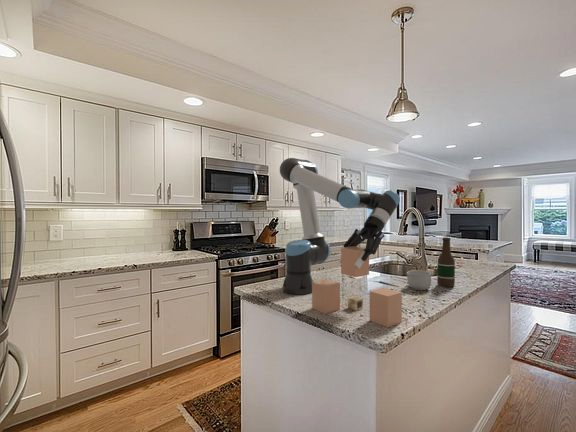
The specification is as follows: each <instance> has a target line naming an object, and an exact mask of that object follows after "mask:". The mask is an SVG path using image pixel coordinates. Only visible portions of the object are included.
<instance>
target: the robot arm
mask: <svg viewBox="0 0 576 432" xmlns="http://www.w3.org/2000/svg"><path fill="white" fill-rule="evenodd" d="M318 173H319V171H318V168H317V165H316V164H315V163H314V162H312V161H309V160H308V159H300V158H295V157H288V158H286V159H284V160H283V161H282V162H281V163H280V166H279V174H280V176H281V178H283V180H285V181H287V182H289V183H291V184H292V185H293V186H292V187H293V189H295V190H296V194H297V200H298V206H299V213H300V218H301V226H302V232H303V237H302V238H301V239H298V240H297V239H296V240H292V241H289V242H288V243H287V244H286V245H285V270H286V271H285V277H284V281H283V284H282V292H284V293H285V294H289V295H309V294H312V282H314V280H313V277H312V274H311V270H312V269H311V267H312V266H315V265H321V264H323V263H325V262H326V261H327V260H329V257H330V256H331V250H332V249H331V246H330V244H329V243H328V241H327V240H325V235H323V234H322V232H321V229H320V223H319V214H318V209H317V204H316V202H317V201H316V196H315V193H317V194H320V195H322V196H324V197H326V198H329V199H330V200H332V201H335V202H337V203H338V204H339V205H340V206H341V207H343V208H346V209H363V208H364V209H368V210H371V212H370V214H369V215H368V217H367V218H366V220H365V222H364V225H363V227H362V228H361V229H358V228H355V230H354V232H353V233H352V235H350V237H349V238H348V239H347V240H346V242H344V244H343V246H342V247H351V246H357V247H358V246H359V245H360V244H361V243H362V242H364V241H366V243H365V247H364V248H365V249H364V250H365V251H362V253H361V255H360V256H359V258H358V259H357V261H356V262H355V265H356V267H357V268H358V269H360V267H361V266H362V264H363V262H364V261H366V259H367V258H368V256H369V257H370V255H374V256H375V255H376V253H377V250H378V248H379V246H380V244H381V241H382V239H383V238H384V237H385V234H384V233H383V230H384V228H385V226H386V224H387V223H388V221H389V220H390V219H391V216H392V215H393V214H394V211H395V210H396V209H397V208H398V206H399V203H400V201H401V197H400V195H399V194H398V193H397V192H396V191H393V190H391V189H390V190H386V191H384V192H383V193H382V194H381V193H378V192H377V193H376V192H373V191H369V190H366V189H362V188H356V189H354V188H350V187H348V186H347V185H344V184H343V183H340V182H336V181H335V180H333V179H330V178H328V177H325V176H323V175H320V174H318ZM338 262H339V263H340V264H341V257H340V258H339V259H338Z"/></svg>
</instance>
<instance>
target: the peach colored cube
mask: <svg viewBox="0 0 576 432" xmlns="http://www.w3.org/2000/svg"><path fill="white" fill-rule="evenodd" d="M311 309H314V310H315V311H317V312H321V313H323V314H329V313H332V312H336V311H340V309H341V283H340V282H337V281H333V280H330V279H322V280H317V281H313V282H312V293H311Z"/></svg>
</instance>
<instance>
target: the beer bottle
mask: <svg viewBox="0 0 576 432" xmlns="http://www.w3.org/2000/svg"><path fill="white" fill-rule="evenodd" d="M441 241H442V246H441V254H439V256H438V258H437V266H436V267H437V270H436V271H437V272H436V273H437V274H436V275H437V279H436V280H437V286H439V287H440V288H447V289H448V288H454V287H455V280H456V272H455V271H456V261H455V258H454V256H453V254H452V251H451V238H450V237H449V236H448V237H445V236H444V237H442V238H441Z"/></svg>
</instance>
